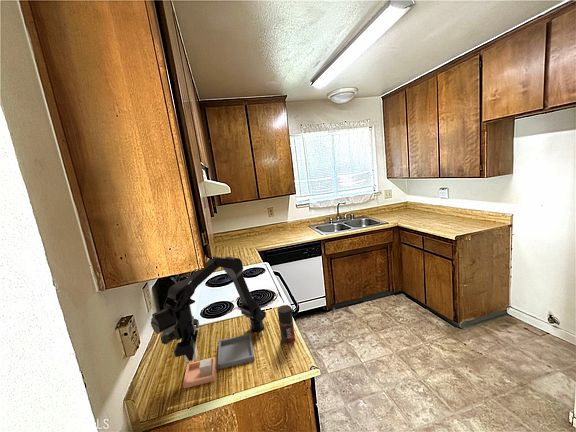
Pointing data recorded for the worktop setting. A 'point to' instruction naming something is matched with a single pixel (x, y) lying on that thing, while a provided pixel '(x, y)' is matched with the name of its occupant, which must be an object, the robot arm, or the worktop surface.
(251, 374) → the worktop surface
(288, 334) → the deodorant
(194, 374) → the dish
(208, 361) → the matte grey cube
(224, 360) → the bin
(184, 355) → the beige cube
